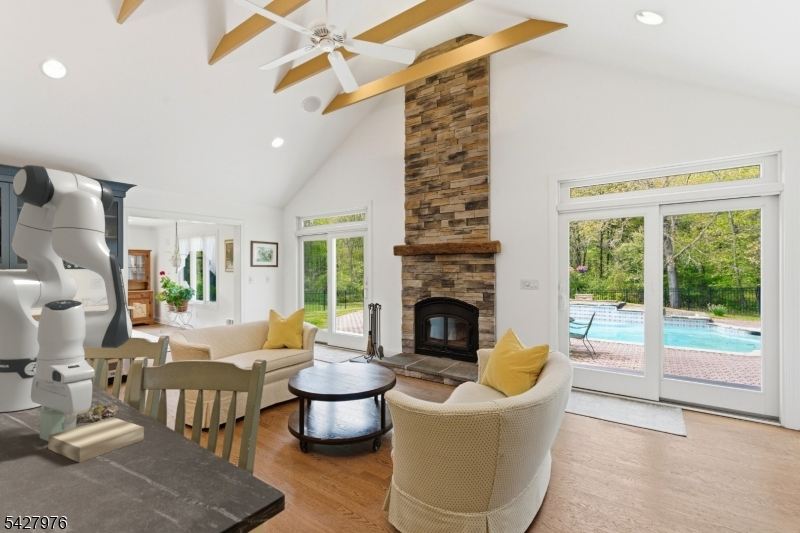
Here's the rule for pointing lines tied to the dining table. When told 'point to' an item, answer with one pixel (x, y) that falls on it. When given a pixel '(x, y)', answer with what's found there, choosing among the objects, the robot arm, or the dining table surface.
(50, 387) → the robot arm
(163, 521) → the dining table surface
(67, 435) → the birch plinth
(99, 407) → the mineral rock
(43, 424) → the sage block
